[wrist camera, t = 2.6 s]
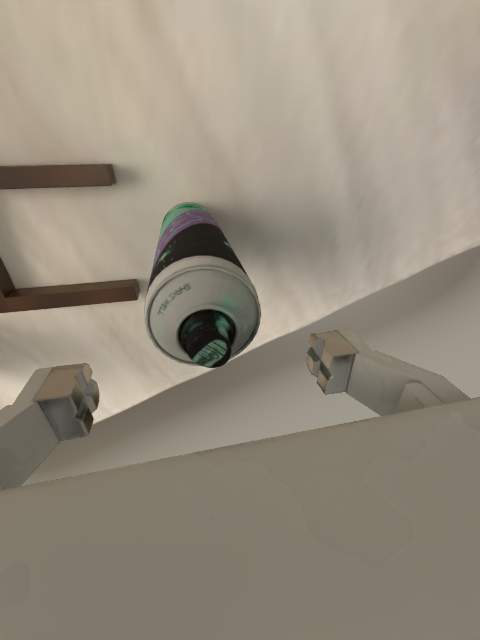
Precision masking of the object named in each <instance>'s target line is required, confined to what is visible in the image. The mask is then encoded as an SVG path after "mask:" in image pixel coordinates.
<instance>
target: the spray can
mask: <svg viewBox="0 0 480 640" xmlns="http://www.w3.org/2000/svg"><path fill="white" fill-rule="evenodd" d="M144 311H145V322H146V329H147V332H148V334H149V337H150V339H151V341H152V342H153V344H154V345H155V347H156V348H157V349H158V350H160V351H161V352H162V353H163V354H164V355H166V356H167V357H169V358H170V359H172V360H175V361H177V362H179V363H183V364H187V365H193V366H204V367H208V368H216V367H220V366H222V365H224V364H225V363H226V362H227V361H228V360H229V359H231V358H233V357H235V356H236V355H238V354H239V353H240V352H242V351H243V350H244V349H245V348H246V347H247V346H248V345H249V344H250V343H251V341H252V340H253V338H254V336H255V335H256V333H257V330H258V327H259V325H260V318H261V310H260V304H259V301H258V296H257V293H256V290H255V287H254V285H253V284H252V282H251V280H250V279H249V277H248V275H247V273H246V272H245V270H244V268H243V267H242V265H241V263H240V261H239V260H238V258H237V256H236V255H235V253H234V251H233V250H232V248H231V246H230V244H229V243H228V241H227V239H226V238H225V236H224V234H223V232H222V231H221V229H220V227H219V226H218V224H217V222H216V221H215V219H214V217H213V216H212V214H211V213H210V212H209V211H208V210H207V209H205V208H204V207H203V206H201V205H198V204H195V203H181V204H179V205H176V206H175V207H173V208H172V209H171V210H170V211H169V212H168V213H167V214H166V216H165V218H164V220H163V223H162V227H161V232H160V236H159V241H158V245H157V250H156V254H155V259H154V264H153V268H152V273H151V277H150V282H149V286H148V291H147V295H146V300H145V309H144Z"/></svg>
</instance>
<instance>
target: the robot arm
mask: <svg viewBox="0 0 480 640" xmlns="http://www.w3.org/2000/svg"><path fill="white" fill-rule="evenodd" d="M309 344H310V345H311V348H310V349H309V350H308V352H307V365H308V368H309V370H310V372H311V374H312V375H314V376H316V377H318V380H317V383H318V385H319V386H320V388H321V389H322V391H323V392H324V394H325V395H327V394H334V393H341V392H346V393H347V394H349V395H350V396H352V397H353V398H355V399H356V400H358V401H359V402H361V403H363V404H364V405H365V406H367V407H368V408H370V409H371V410H373V411H374V412H376V413H377V414H379V415H380V417H375V418H370V419H365V420H360V421H354V422H350V423H344V424H339V425H334V426H329V427H324V428H319V429H314V430H308V431H303V432H298V433H293V434H288V435H282V436H277V437H272V438H266V439H261V440H257V441H251V442H246V443H241V444H236V445H230V446H225V447H220V448H215V449H210V450H205V451H200V452H195V453H189V454H184V455H179V456H175V457H169V458H164V459H159V460H153V461H148V462H143V463H138V464H133V465H128V466H122V467H117V468H112V469H107V470H102V471H97V472H92V473H87V474H81V475H76V476H71V477H66V478H61V479H56V480H51V481H45V482H40V483H35V484H30V485H25V486H21V485H22V484H23V483H24V482H25V480H26V479H27V478H28V477H29V476H30V475H31V474H32V473H33V472H34V471H35V470H36V469H37V468H38V466H39V465H40V464H41V463H42V462H43V461H44V460H45V459H46V458H47V457H48V456H49V455H50V453H51V452H52V451H53V450H54V449H55V448H56V447H57V446H58V445H59V443H60V441H64V440H69V439H74V438H79V437H84V436H88V435H89V432H90V429H91V426H92V423H93V420H94V419H93V416H92V413H93V412H94V411H95V410H96V409H97V407H98V403H99V389H98V385H97V383H96V381H94V380H92V379H91V375H92V370H91V368H90V365H89V364H87V363H83V364H74V365H65V366H56V367H49V368H41V369H38V370H36V371H35V372H34V373H33V375H32V376H31V378H30V379H29V381H28V382H27V384H26V385H25V387H24V388H23V390H22V391H21V393H20V394H19V396H18V397H17V399H16V400H15V402H14V403H13V405H8V406H6V407H4V408H3V409H1V410H0V640H480V397H478V398H473V399H470V398H469V397H468V396H467V395H465V394H464V393H463V392H462V391H460V390H459V389H458V388H457V387H455V386H454V385H453V384H452V383H451V382H449V381H448V380H447V379H446V378H445V377H443V376H441V375H438V374H435V373H433V372H430V371H428V370H425V369H423V368H420V367H417V366H415V365H412V364H410V363H407V362H404V361H402V360H399V359H397V358H394V357H392V356H389V355H386V354H383V353H381V352H379V351H372V350H371V349H370V348H369V347H368V346H367V345H365V344H364V342H362V341H361V340H360V339H359V338H358V337H357V336H356V335H355V334H354V333H353V332H352V331H351V330H350V329H348V328H344V329H338V330H334V331H326V332H319V333H313V334H311V335H310V337H309Z"/></svg>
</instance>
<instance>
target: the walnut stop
mask: <svg viewBox="0 0 480 640" xmlns="http://www.w3.org/2000/svg"><path fill="white" fill-rule="evenodd" d="M113 184H115V178H114V174H113V169H112V165H111V164H86V165H38V166H0V189H22V188H53V187H84V186H111V185H113ZM139 293H140V290H139V286H138V281H137V279H133V280H122V281H110V282H98V283H86V284H74V285H62V286H50V287H38V288H27V289H15V288H14V286H13V283H12V281H11V279H10V277H9V275H8V273H7V271H6V269H5V267H4V265H3V263H2V261H1V258H0V313H7V312H18V311H28V310H38V309H49V308H59V307H70V306H80V305H91V304H101V303H112V302H122V301H133V300H138V297H139Z"/></svg>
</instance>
